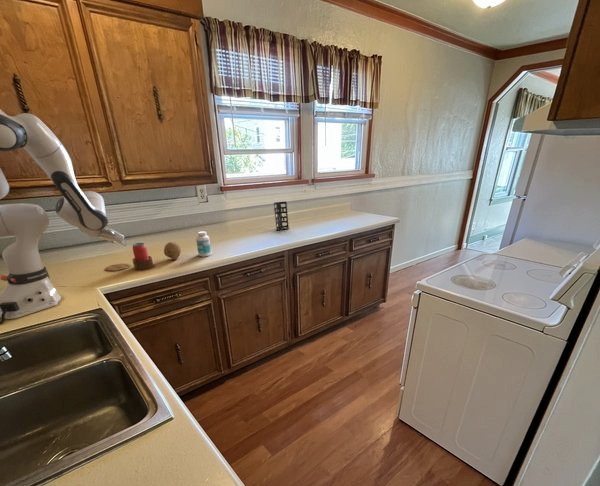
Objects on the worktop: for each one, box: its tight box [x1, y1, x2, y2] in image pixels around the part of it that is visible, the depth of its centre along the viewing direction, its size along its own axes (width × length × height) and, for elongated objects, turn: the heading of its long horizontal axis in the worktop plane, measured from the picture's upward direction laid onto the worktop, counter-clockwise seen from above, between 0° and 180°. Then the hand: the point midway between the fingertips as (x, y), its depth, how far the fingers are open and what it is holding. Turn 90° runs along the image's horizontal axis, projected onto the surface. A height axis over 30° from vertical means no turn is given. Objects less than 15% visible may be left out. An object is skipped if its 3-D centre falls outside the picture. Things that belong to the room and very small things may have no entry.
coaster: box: [105, 263, 130, 272], centre depth 175 cm, size 11×11×1 cm
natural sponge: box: [163, 241, 182, 260], centre depth 184 cm, size 9×9×10 cm
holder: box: [273, 201, 289, 231], centre depth 249 cm, size 11×8×20 cm
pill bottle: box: [195, 230, 212, 257], centre depth 191 cm, size 8×7×14 cm
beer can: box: [132, 242, 149, 261], centre depth 172 cm, size 7×7×12 cm
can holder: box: [131, 255, 155, 271], centre depth 174 cm, size 9×9×5 cm
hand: (119, 243), depth 159 cm, fingers open, 8 cm apart
